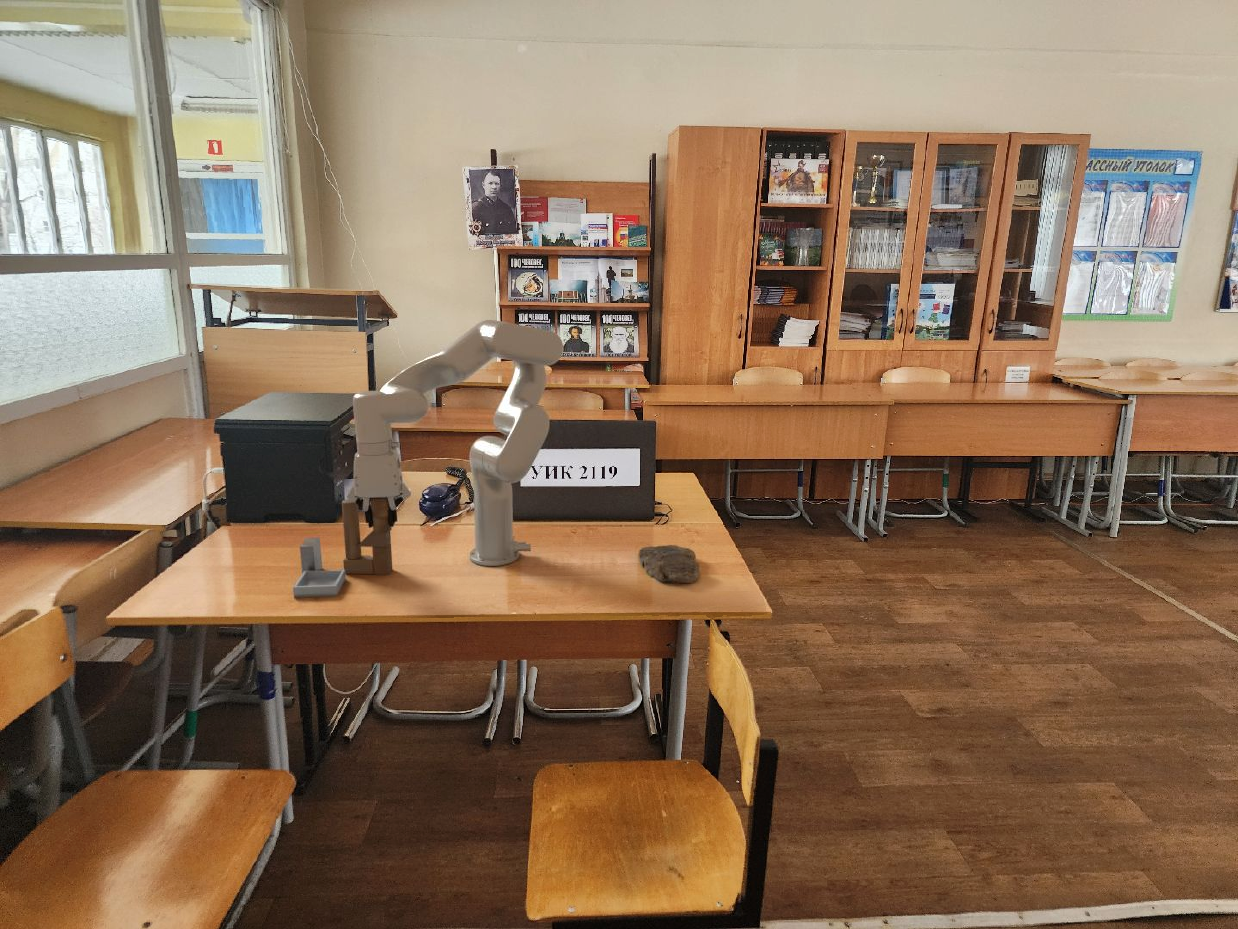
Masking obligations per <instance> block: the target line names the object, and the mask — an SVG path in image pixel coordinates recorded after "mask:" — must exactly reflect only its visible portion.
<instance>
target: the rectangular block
mask: <svg viewBox="0 0 1238 929" xmlns="http://www.w3.org/2000/svg"><path fill="white" fill-rule="evenodd" d="M299 550H300V551H299V552H300V562H301V575H302V574H303V572H304V571H319V570H323V560H322V548H321V538H320V537H306V538H305V540H303V542H302V543H301V545H300V546H299Z"/></svg>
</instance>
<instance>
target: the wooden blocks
mask: <svg viewBox="0 0 1238 929" xmlns="http://www.w3.org/2000/svg"><path fill="white" fill-rule="evenodd" d="M341 510H342V514H341V515H342V525H343V526H342V527H343V535H344V536H343V538H344V549H345V550H344V551H345V552H344V553H345V558H344V559H343V570H345V574H352V575H353V574H356V575H361V574H362V575H379V576H381V575H382V576H384V575H386V576H388V575H390V573H391V572H392V571H393V560H392V559H393V557H392V540H391V539H392V538H391V531H389V532H387V533H375V532H373V530H372V531H371V532H369V533H368V534H367V535H366V537H365V538H364V539H362V540H361V529H360V527H361V526H360V516H359V505H357V504H356V503H355V502H353V501H351V500H349V499H348V498H347V499H343V500H342V501H341ZM362 547H364V548H365V547H366V548H368V547H369V548H371V549H372V550H371V551H372V556H371V555H369V554H362Z"/></svg>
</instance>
